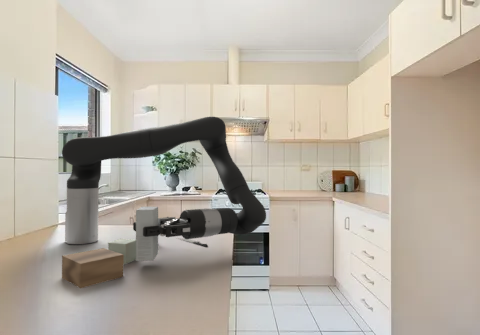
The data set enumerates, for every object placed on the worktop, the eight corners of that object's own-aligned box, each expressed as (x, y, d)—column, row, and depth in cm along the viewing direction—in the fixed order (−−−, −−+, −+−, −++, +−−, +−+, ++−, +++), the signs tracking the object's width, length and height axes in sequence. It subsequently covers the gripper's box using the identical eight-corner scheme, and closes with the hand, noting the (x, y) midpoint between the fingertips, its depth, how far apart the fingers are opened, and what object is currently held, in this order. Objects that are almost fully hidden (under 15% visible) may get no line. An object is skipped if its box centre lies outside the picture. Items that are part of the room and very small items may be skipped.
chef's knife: (180, 238, 111) (173, 238, 109) (180, 234, 111) (173, 235, 109) (213, 247, 97) (205, 248, 95) (213, 243, 97) (205, 244, 95)
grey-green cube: (108, 262, 79) (108, 242, 79) (120, 257, 84) (120, 238, 84) (125, 264, 78) (125, 243, 78) (137, 259, 83) (137, 239, 83)
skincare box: (140, 254, 79) (141, 206, 79) (158, 254, 80) (158, 206, 80) (134, 261, 73) (135, 209, 73) (153, 261, 73) (154, 209, 74)
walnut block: (61, 279, 67) (62, 255, 67) (103, 269, 74) (103, 247, 74) (80, 289, 62) (80, 263, 62) (123, 277, 68) (123, 254, 68)
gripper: (188, 206, 90) (129, 210, 81) (214, 212, 79) (148, 217, 69) (188, 232, 90) (129, 239, 81) (213, 242, 79) (148, 251, 69)
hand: (138, 229), depth 75 cm, fingers closed on skincare box, 7 cm apart
